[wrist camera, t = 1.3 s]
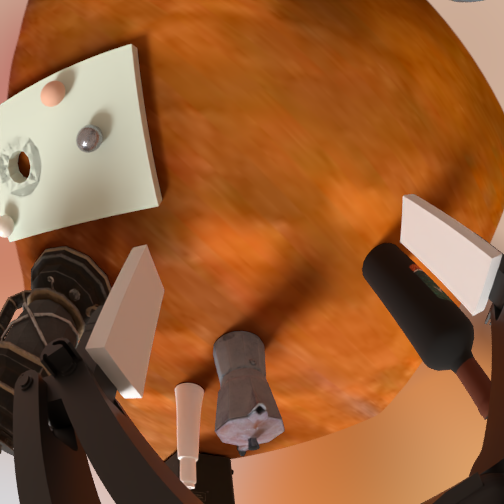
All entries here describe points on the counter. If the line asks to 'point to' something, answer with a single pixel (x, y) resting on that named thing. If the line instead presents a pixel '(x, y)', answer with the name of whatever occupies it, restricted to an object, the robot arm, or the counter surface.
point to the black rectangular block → (209, 478)
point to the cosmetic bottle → (188, 429)
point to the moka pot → (244, 393)
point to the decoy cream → (6, 226)
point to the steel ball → (89, 138)
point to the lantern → (45, 320)
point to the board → (70, 156)
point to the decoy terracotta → (52, 93)
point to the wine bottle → (427, 318)
